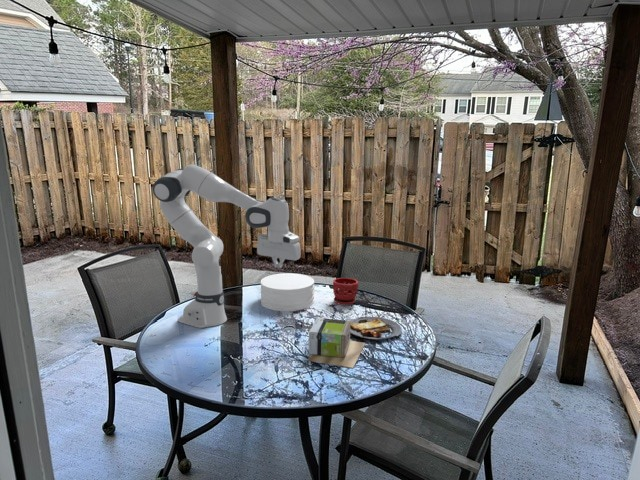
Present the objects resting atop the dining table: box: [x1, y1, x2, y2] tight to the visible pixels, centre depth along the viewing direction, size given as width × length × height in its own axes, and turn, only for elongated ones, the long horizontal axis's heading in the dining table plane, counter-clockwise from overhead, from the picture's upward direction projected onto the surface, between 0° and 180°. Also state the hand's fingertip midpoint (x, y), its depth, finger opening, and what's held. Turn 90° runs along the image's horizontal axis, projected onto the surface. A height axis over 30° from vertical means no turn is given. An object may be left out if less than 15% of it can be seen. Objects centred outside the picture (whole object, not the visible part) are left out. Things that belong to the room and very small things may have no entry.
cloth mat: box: [307, 340, 366, 369], centre depth 177 cm, size 18×22×1 cm
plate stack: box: [260, 272, 315, 312], centre depth 232 cm, size 28×28×12 cm
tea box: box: [308, 317, 351, 358], centre depth 178 cm, size 15×10×15 cm
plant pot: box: [332, 277, 359, 306], centre depth 231 cm, size 13×13×12 cm
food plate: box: [349, 315, 403, 341], centre depth 197 cm, size 25×23×4 cm
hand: (278, 267), depth 189 cm, fingers closed
